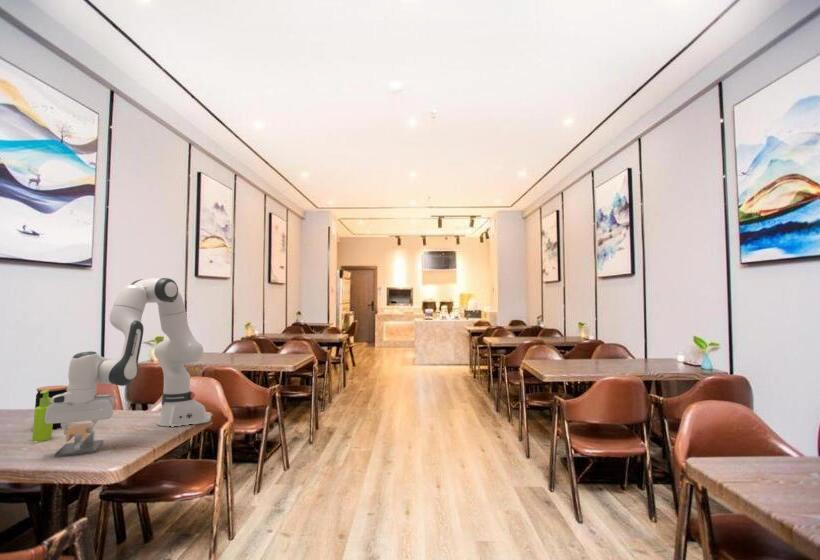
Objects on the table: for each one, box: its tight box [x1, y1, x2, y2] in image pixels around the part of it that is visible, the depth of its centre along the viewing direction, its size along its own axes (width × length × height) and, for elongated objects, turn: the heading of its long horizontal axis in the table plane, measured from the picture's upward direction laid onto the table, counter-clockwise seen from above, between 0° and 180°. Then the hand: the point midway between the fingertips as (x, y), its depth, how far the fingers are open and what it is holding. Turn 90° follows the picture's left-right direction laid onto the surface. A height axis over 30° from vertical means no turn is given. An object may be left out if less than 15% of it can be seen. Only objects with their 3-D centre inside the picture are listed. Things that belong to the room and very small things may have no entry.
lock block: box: [65, 422, 92, 443], centre depth 156 cm, size 6×9×4 cm, turn 26°
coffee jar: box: [34, 385, 68, 430], centre depth 188 cm, size 11×11×18 cm
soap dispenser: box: [32, 390, 53, 442], centre depth 171 cm, size 6×7×20 cm
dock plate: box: [53, 430, 104, 458], centre depth 159 cm, size 12×14×5 cm
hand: (78, 433), depth 156 cm, fingers closed on lock block, 6 cm apart
